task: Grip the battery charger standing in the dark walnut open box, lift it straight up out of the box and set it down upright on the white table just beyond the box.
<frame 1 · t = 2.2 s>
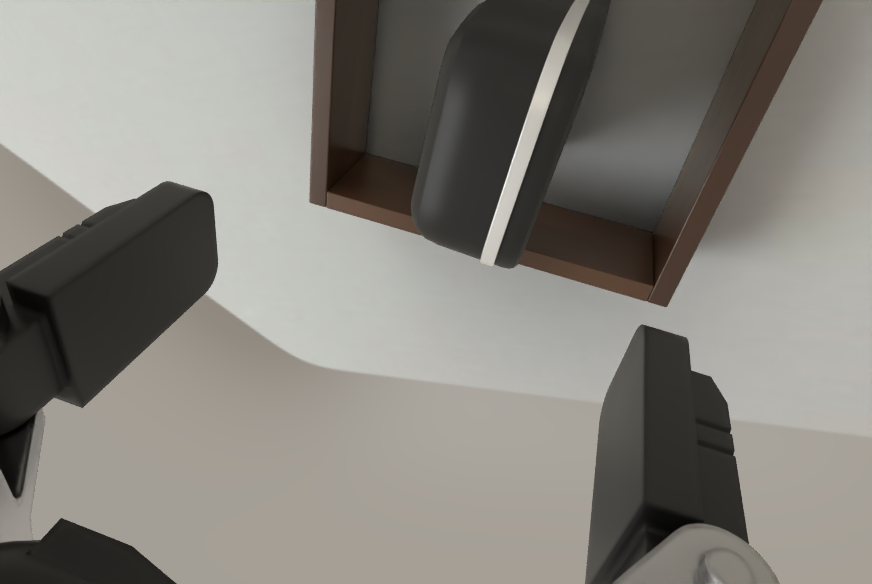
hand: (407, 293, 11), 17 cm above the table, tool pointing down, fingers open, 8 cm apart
battery charger: (538, 60, 24), resting in walnut box
walnut box: (537, 61, 24), on the table
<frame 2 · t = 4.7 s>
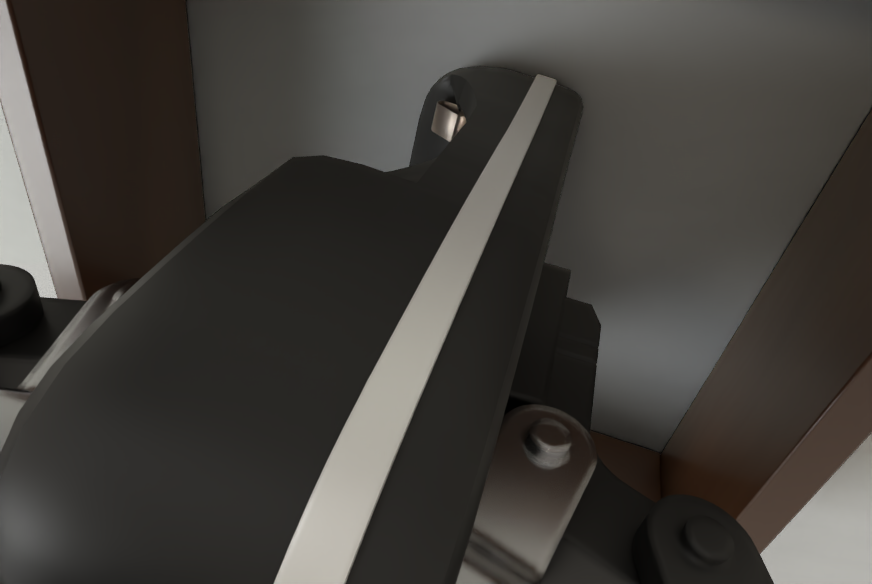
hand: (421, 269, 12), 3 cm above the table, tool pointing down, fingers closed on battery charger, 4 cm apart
battery charger: (464, 194, 14), resting in walnut box, touching gripper
walnut box: (462, 198, 14), on the table
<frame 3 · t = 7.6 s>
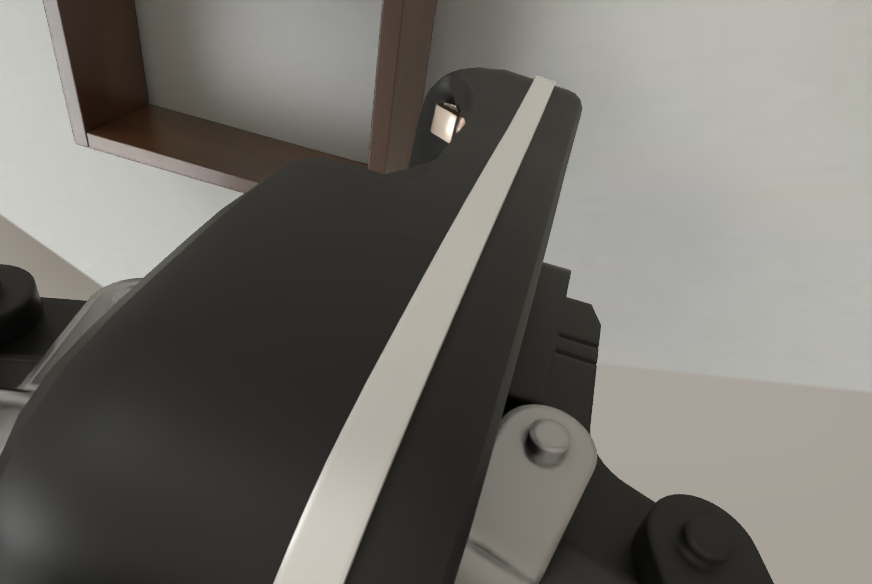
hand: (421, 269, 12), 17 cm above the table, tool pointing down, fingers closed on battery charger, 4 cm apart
battery charger: (463, 195, 14), point 13 cm above the table, touching gripper
walnut box: (266, 12, 27), on the table
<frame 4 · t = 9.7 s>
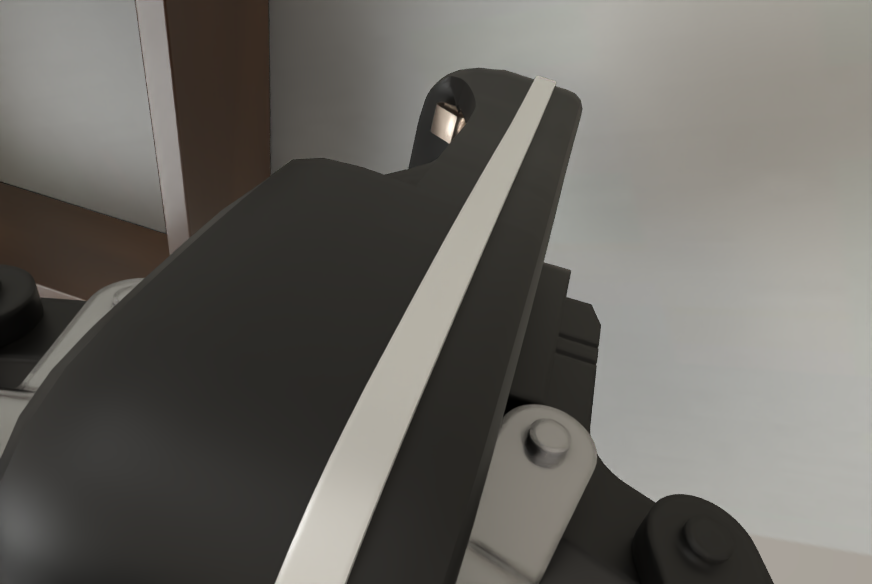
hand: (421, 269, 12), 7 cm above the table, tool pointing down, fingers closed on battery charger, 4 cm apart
battery charger: (463, 196, 14), point 4 cm above the table, touching gripper
walnut box: (58, 54, 20), on the table
when the fingers open (3 cm above the table, at t = 11.0 s): battery charger stays where it is, on the table.
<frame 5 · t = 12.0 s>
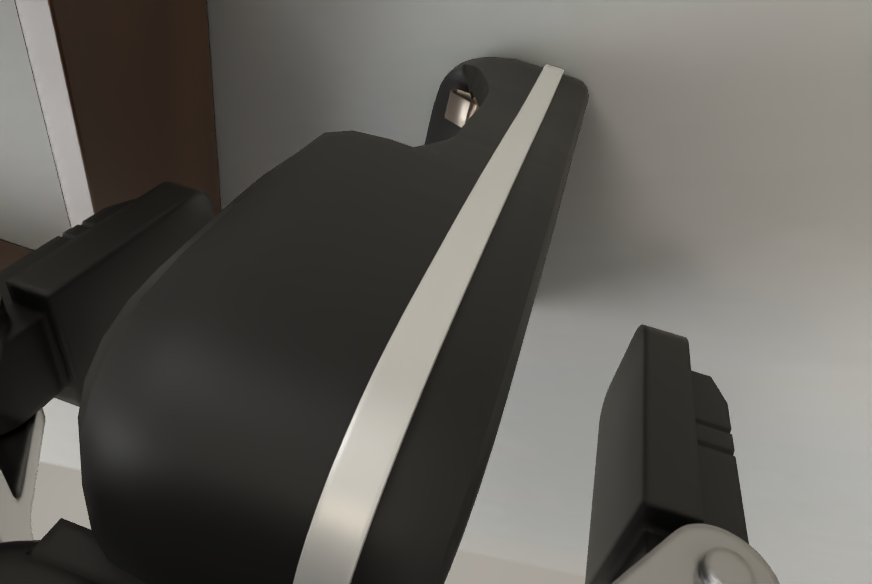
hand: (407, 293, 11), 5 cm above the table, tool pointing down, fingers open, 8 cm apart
battery charger: (474, 181, 15), on the table
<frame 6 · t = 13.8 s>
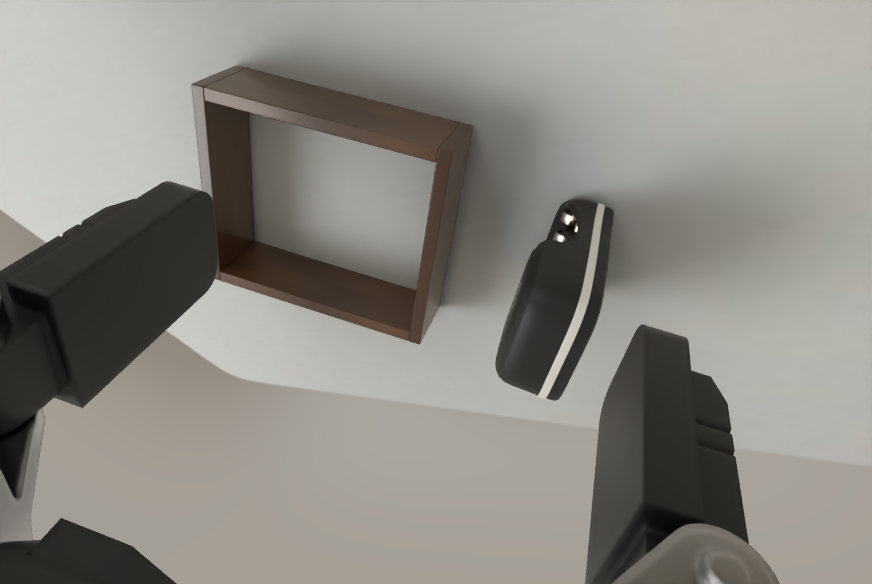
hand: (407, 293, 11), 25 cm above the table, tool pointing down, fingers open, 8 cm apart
battery charger: (566, 240, 37), on the table
walnut box: (344, 194, 40), on the table
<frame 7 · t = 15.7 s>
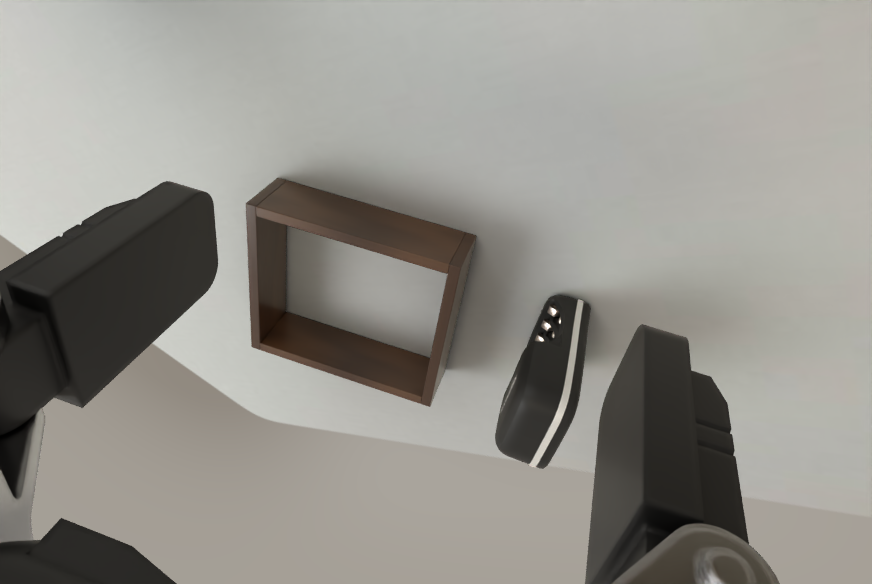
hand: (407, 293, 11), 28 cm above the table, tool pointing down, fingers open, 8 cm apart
battery charger: (552, 324, 45), on the table
walnut box: (366, 279, 48), on the table
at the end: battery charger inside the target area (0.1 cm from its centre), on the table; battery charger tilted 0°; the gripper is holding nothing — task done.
